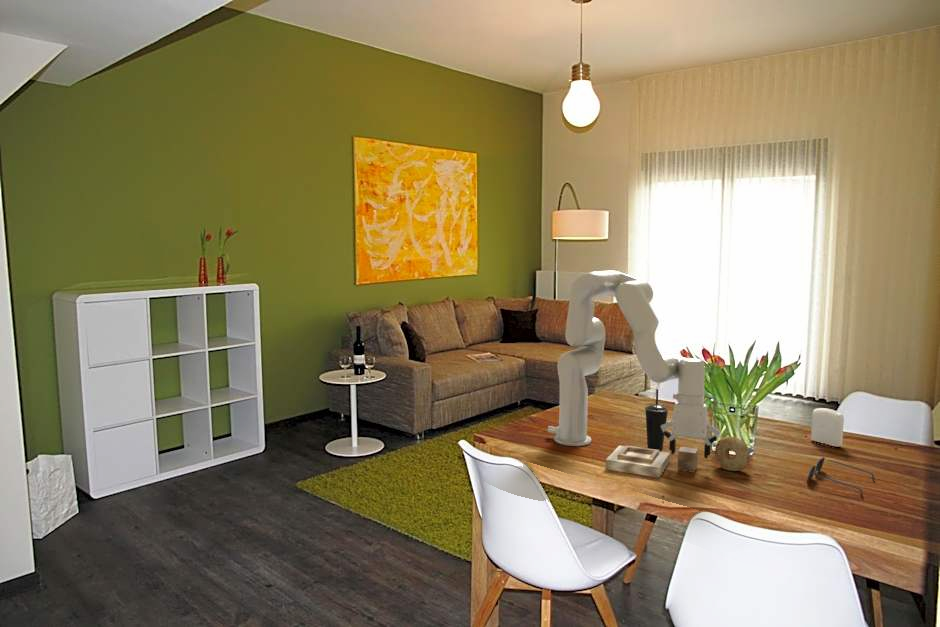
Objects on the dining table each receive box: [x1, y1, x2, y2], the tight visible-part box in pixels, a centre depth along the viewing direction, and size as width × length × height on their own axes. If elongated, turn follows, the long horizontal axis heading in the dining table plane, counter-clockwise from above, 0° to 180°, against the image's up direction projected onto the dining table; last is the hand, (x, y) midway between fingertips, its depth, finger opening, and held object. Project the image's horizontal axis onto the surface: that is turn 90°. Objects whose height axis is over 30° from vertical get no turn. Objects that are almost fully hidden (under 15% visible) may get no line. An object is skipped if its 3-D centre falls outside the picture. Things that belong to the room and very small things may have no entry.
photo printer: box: [810, 407, 845, 446], centre depth 235 cm, size 10×4×12 cm, turn 29°
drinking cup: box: [644, 388, 669, 451], centre depth 229 cm, size 8×8×20 cm
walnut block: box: [677, 446, 699, 473], centre depth 209 cm, size 5×5×6 cm
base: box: [605, 444, 671, 478], centre depth 212 cm, size 16×16×4 cm
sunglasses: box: [806, 457, 875, 498], centre depth 198 cm, size 17×15×5 cm
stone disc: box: [714, 436, 752, 472], centre depth 208 cm, size 10×4×10 cm, turn 48°
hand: (689, 455), depth 209 cm, fingers open, 9 cm apart
